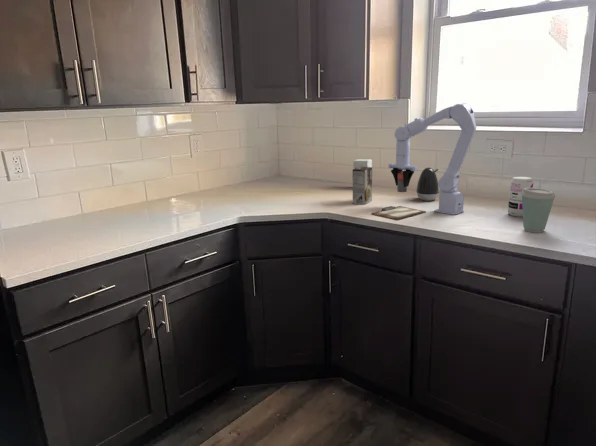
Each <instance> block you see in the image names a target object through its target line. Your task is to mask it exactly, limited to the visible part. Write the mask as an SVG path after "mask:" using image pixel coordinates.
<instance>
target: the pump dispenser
mask: <svg viewBox="0 0 596 446" xmlns="http://www.w3.org/2000/svg"><path fill="white" fill-rule="evenodd" d="M437 171H438V172H439V168H435V169H433V168H432V167H425V168H424V169H423V170H422V171H421V173H420V175H419V178H418V181H417V185H416V188H415V189H416V194H417V197H418V198H419V199H420V200H421V201H426V202H431V201H435V200H436V199H437V197H438V195H439V193H440V188H439V185H438V182H439V180H438V176H437V174H436V172H437Z"/></svg>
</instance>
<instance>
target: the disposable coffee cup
mask: <svg viewBox="0 0 596 446" xmlns="http://www.w3.org/2000/svg"><path fill="white" fill-rule="evenodd" d="M521 195H522V207H523V217H522V221H523V222H522V223H523V226H522V227H523V229H524V231H525V232H529V233H536V234H537V233H538V234H540V233H543V232H545V230H546V227H547V223H548V220H549V218H550V213H551V209H552V208H553V207H552V206H553V203H554V201H555V198H556V193H554V191H552V190H549V189H545V188H540V187H539V188H538V187H533V188H524V189H523V191H522V193H521Z"/></svg>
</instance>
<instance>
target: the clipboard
mask: <svg viewBox="0 0 596 446" xmlns="http://www.w3.org/2000/svg"><path fill="white" fill-rule="evenodd" d="M426 213H427V211H426V210H421V209H416V208H412V207H411V208H410V207H406V206H402V205H398V206H393V205H390V206H386V207H382V208H381V210H378V211H373V212H371V215H373V216H377V217H382V218H386V219H390V220H395V221H400V220H403V219H407V218H411V217H415V216H419V215H422V214H426Z"/></svg>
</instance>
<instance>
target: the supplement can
mask: <svg viewBox="0 0 596 446" xmlns="http://www.w3.org/2000/svg"><path fill="white" fill-rule="evenodd" d="M524 188H534V180H533V178H532V176H520V175H519V176H513V177H512V179H510V184H509V194H508V205H507V206H508V207H507V213H508V214H509V216H511V217H519V218H521V217H522V218H523V207H522V195H521V193H522V191H523V189H524Z"/></svg>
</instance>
